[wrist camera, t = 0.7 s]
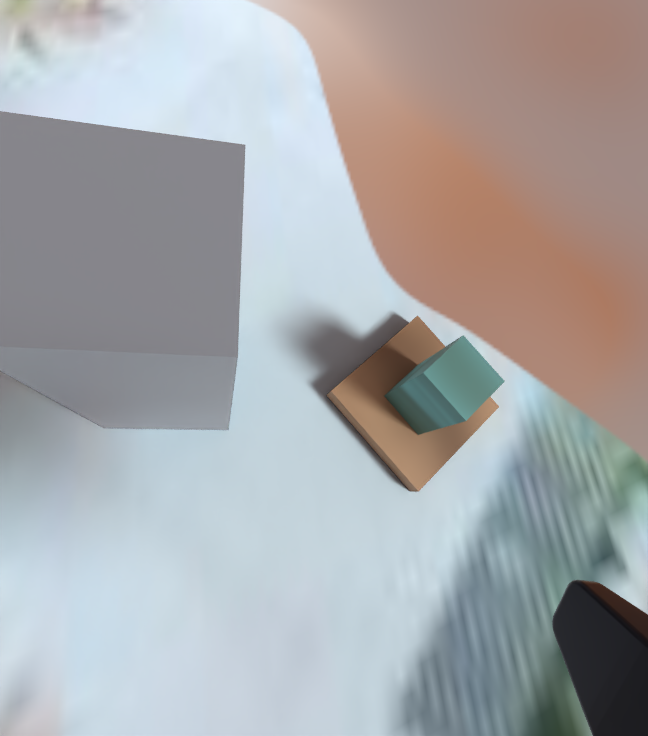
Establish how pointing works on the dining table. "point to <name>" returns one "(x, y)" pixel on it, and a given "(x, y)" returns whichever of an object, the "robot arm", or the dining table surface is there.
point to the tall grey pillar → (121, 270)
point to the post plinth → (387, 423)
